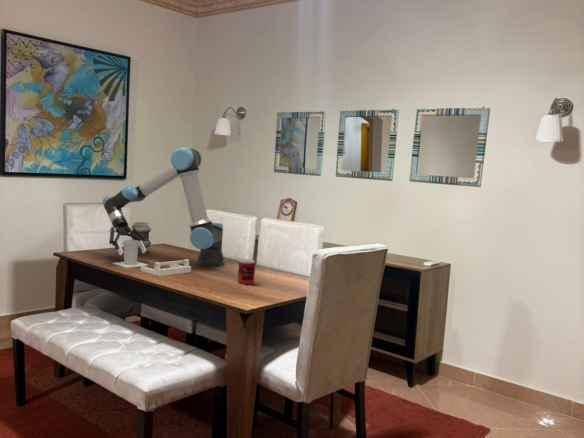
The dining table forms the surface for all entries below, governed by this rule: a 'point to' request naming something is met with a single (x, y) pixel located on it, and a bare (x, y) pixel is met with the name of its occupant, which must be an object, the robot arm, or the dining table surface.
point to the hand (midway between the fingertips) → (133, 252)
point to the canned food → (246, 271)
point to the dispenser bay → (169, 271)
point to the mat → (130, 265)
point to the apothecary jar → (143, 234)
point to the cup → (130, 251)
